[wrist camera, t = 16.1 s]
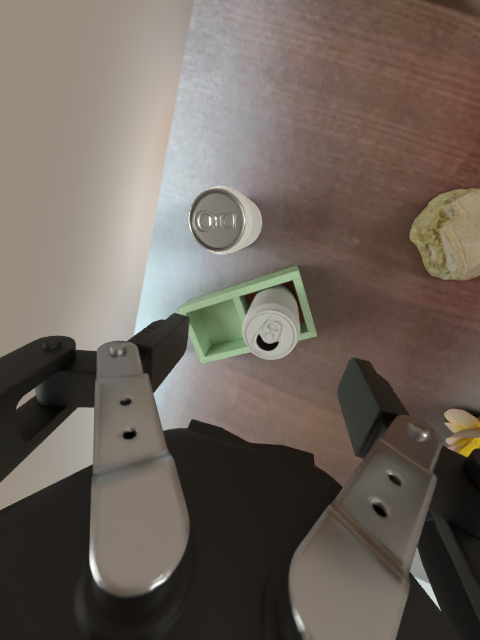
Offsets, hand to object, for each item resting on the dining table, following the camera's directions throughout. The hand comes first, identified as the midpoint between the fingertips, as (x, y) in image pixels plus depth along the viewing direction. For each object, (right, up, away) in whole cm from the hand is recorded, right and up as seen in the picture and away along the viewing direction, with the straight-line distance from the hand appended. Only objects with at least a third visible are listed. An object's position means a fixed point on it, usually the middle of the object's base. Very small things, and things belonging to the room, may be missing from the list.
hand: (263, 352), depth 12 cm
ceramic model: (+27, +13, +18) cm, 35 cm away
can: (-1, +15, +22) cm, 27 cm away
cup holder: (0, +3, +26) cm, 27 cm away
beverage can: (+4, +4, +25) cm, 25 cm away
